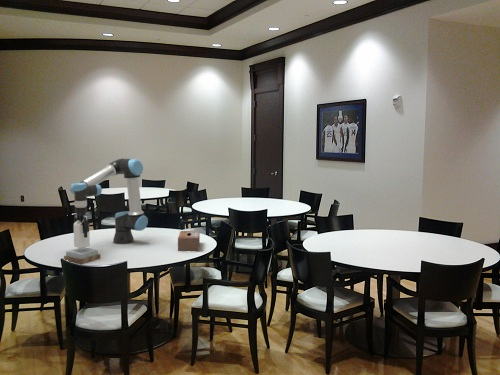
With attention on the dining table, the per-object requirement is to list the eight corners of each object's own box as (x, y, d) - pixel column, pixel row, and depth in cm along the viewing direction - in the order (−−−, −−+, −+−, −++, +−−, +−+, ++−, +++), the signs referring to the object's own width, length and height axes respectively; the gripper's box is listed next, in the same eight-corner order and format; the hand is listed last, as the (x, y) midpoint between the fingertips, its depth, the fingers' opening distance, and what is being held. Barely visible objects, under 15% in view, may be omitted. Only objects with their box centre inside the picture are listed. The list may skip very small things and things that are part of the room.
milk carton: (83, 244, 307) (83, 216, 305) (89, 246, 302) (89, 218, 300) (74, 246, 301) (73, 218, 299) (79, 248, 297) (79, 219, 295)
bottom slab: (83, 255, 314) (83, 250, 313) (100, 258, 306) (100, 254, 305) (64, 260, 300) (63, 256, 299) (80, 264, 292) (80, 259, 292)
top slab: (83, 251, 312) (83, 247, 312) (98, 254, 305) (97, 249, 305) (66, 256, 300) (66, 251, 299) (80, 259, 293) (80, 254, 293)
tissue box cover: (198, 252, 327) (198, 238, 326) (177, 252, 326) (177, 238, 325) (199, 243, 353) (199, 230, 351) (180, 243, 352) (180, 230, 350)
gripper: (67, 205, 302) (68, 239, 305) (83, 209, 290) (84, 244, 292) (78, 204, 308) (79, 238, 311) (94, 207, 295) (95, 242, 298)
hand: (81, 241), depth 301 cm, fingers closed on milk carton, 7 cm apart
